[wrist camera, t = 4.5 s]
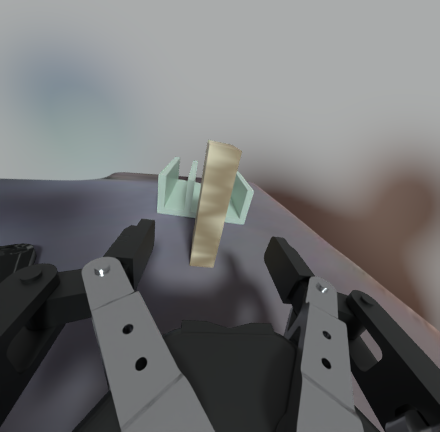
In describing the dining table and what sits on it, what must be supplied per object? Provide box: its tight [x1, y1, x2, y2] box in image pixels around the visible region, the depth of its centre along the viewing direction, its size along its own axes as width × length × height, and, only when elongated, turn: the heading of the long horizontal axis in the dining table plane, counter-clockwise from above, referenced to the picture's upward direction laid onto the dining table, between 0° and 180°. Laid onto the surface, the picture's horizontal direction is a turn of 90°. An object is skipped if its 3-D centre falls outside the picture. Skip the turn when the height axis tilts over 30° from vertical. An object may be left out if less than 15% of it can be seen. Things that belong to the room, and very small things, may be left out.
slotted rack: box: [157, 157, 254, 225], centre depth 33 cm, size 14×16×6 cm
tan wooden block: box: [190, 140, 242, 268], centre depth 18 cm, size 2×5×12 cm, turn 5°
